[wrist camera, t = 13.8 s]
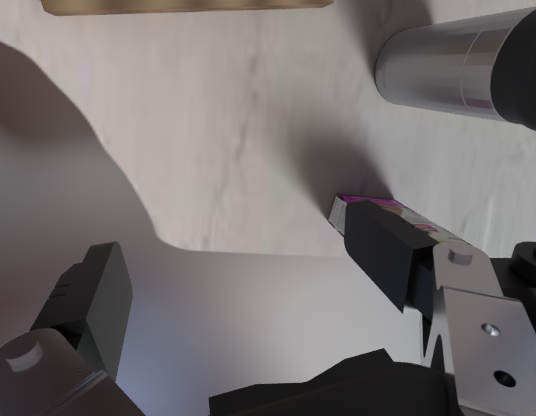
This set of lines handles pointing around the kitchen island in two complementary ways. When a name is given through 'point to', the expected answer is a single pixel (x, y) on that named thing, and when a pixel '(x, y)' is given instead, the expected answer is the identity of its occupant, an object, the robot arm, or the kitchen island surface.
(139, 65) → the kitchen island surface
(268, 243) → the kitchen island surface
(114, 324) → the robot arm
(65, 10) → the rack
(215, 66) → the kitchen island surface
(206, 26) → the kitchen island surface
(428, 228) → the candy bar box
